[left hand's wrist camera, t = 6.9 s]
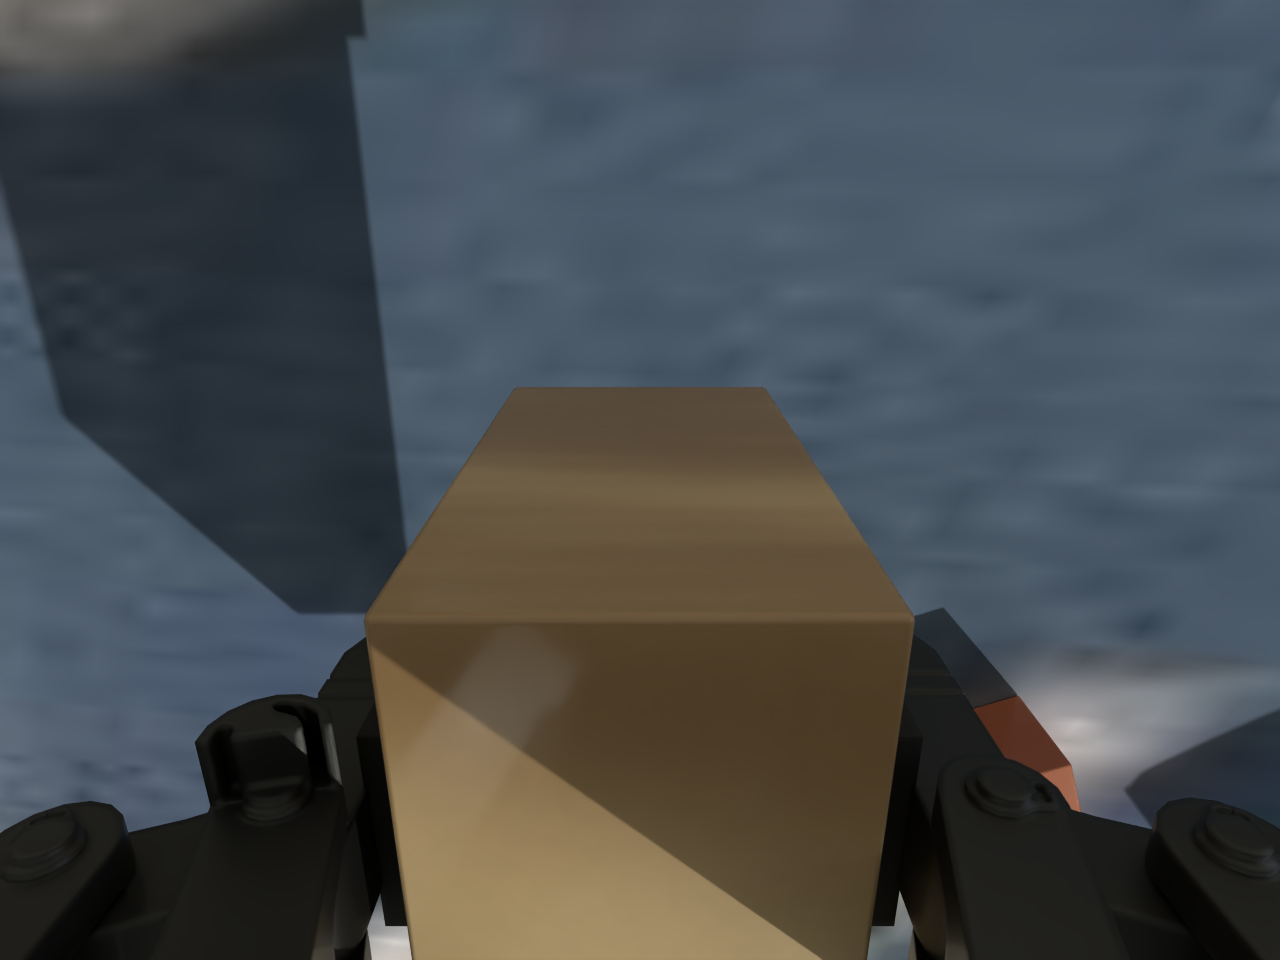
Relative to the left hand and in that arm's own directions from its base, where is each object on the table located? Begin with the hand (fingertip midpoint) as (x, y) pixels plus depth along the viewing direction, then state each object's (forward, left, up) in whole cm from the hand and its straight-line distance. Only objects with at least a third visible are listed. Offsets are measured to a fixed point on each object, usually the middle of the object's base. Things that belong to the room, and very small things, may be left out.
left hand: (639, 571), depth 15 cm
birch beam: (0, +9, 0) cm, 9 cm away
